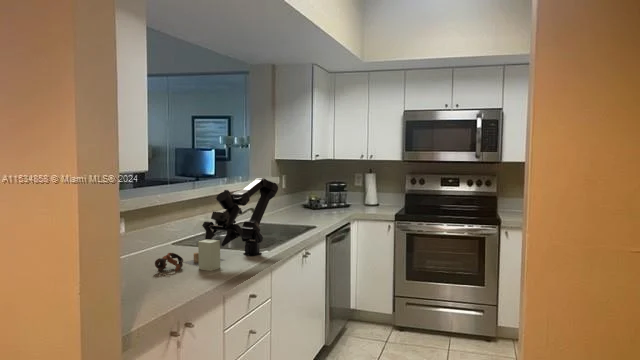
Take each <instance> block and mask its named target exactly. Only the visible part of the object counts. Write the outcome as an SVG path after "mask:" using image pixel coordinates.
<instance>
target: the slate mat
mask: <svg viewBox="0 0 640 360" xmlns="http://www.w3.org/2000/svg"><path fill="white" fill-rule="evenodd" d="M223 261H225V259H223V258H220V262H223ZM183 263H184V264H188V265H190V266H193V267H194V266H195V267H199V263H194V259H193V260H187V261H183Z"/></svg>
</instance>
